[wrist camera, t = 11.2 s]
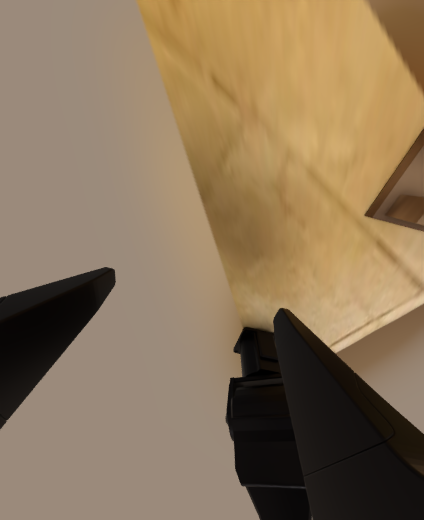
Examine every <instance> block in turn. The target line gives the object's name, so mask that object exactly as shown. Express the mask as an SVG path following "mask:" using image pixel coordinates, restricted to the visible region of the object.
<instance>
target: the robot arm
mask: <svg viewBox="0 0 424 520" xmlns="http://www.w3.org/2000/svg"><path fill="white" fill-rule="evenodd" d="M115 282H116V281H115V270H114V269H112V268H108V267H104V268H101V269H98V270H94V271H90V272H87V273H84V274H80V275H77V276H73V277H70V278H66V279H63V280H59V281H56V282H52V283H49V284H46V285H42V286H39V287H35V288H32V289H29V290H25V291H22V292H18V293H15V294H11V295H8V296H7V297H6V296H5V297H1V298H0V429H1V428H2V427H3V425H4V424H5V423H6V420H8V419H9V418H10V417H11V415H12V414H13V413H14V412H15V411H16V409H17V408H18V407H19V406H20V405H21V403H22V402H23V401H24V400H25V398H26V397H27V396H28V395H29V394H30V392H31V391H32V390H33V388H35V386H36V385H37V384H38V382H39V381H40V380H41V379H42V378H43V376H44V375H45V374H46V373H47V372H48V371H49V369H50V368H51V367H52V365H54V363H55V362H56V361H57V360H58V358H59V357H60V356H61V355H62V354H63V352H64V351H65V350H66V349H67V348H68V346H69V345H70V344H71V343H72V341H73V340H74V339H75V338H76V337H77V335H78V334H79V333H80V332H81V330H82V329H83V328H84V327H85V326H86V324H87V323H88V322H89V321H90V320H91V318H92V317H93V316H94V315H95V313H96V312H97V311H98V310H99V308H100V307H101V305H102V304H103V302H104V301H105V299H106V298H107V296H108V295H109V293H110V292H111V290H112V289H113V287H114V285H115ZM273 324H274V333H275V334H273V333H269V332H264V331H260V330H255V329H251V328H244V329H243V330H242V333H241V335H240V337H239V339H238V341H237V343H236V345H235V347H234V352H235V353H239V354H241V366H242V377H240V378H234V377H233V378H230V384H229V392H228V403H227V414H226V423H227V424H228V426H229V432H230V436H231V438H232V440H233V441H234V449H235V469H236V472H237V475H238V478H239V481H240V483H241V485H242V486H246V488H247V491H248V493H249V495H250V497H251V500H252V502H253V504H254V506H255V509H256V511H257V513H258V515H259V518H260V520H424V434H423V433H422V432H421V431H420V430H418V429H417V428H416V427H415V426H414V425H413V424H411V423H410V422H409V421H408V420H407V419H406V418H405V417H404V416H402V415H401V414H400V413H399V412H398V411H397V410H395V409H394V408H393V407H392V406H391V405H390V404H389V403H388V402H387V401H385V400H384V399H383V398H382V397H381V396H380V395H379V394H378V393H377V392H375V391H374V390H373V389H372V388H371V387H370V386H369V385H368V384H367V383H366V382H365V381H364V380H362V378H360V377H359V376H358V375H357V374H356V373H354V371H353V370H352V369H351V368H350V367H349V366H348V365H347V364H346V363H345V362H343V361H342V360H341V359H340V358H339V357H338V356H337V355H336V354H335V353H334V352H333V351H332V350H331V349H330V348H329V347H328V346H327V345H326V344H324V343H323V342H322V341H321V340H320V339H319V338H318V337H317V336H316V335H315V334H314V333H313V332H312V331H311V330H310V329H309V328H308V327H306V326H305V325H304V324H303V323H302V322H301V321H300V320H299V319H298V318H297V317H296V316H295V315H294V314H293V313H292V312H291V311H290V310H288V309H285V308H280V309H279V310H278V312H277V314H276V315H275V317H274V320H273ZM312 518H313V519H312Z"/></svg>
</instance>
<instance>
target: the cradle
mask: <svg viewBox="0 0 424 520" xmlns="http://www.w3.org/2000/svg"><path fill="white" fill-rule="evenodd" d="M365 216H368V217H371V218H375V219H379V220H383V221H386V222H390V223H394V224H398V225H402V226H405V227H409V228H413V229H417V230H421V231H424V130H423V131H422V133H421V134H420V136H419V137H418V139H417V140H416V141H415V143H414V144H413V146H412V147H411V149H410V150H409V152H408V153H407V155H406V156H405V158H404V159H403V160H402V162H401V163H400V165H399V166H398V168H397V169H396V171H395V172H394V174H393V175H392V176H391V178H390V179H389V181H388V182H387V184H386V185H385V187H384V188H383V190H382V191H381V192H380V194H379V195H378V197H377V198H376V200H375V201H374V203H373V204H372V206H371V207H370V209H369V210H368V211H367V213H366V214H365Z"/></svg>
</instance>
